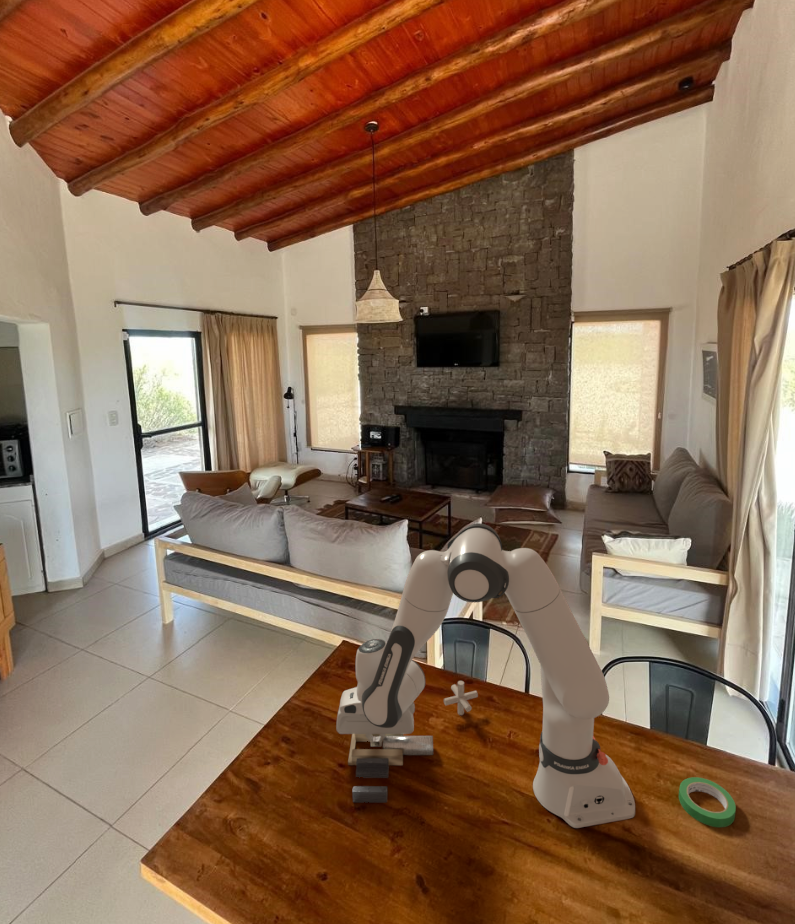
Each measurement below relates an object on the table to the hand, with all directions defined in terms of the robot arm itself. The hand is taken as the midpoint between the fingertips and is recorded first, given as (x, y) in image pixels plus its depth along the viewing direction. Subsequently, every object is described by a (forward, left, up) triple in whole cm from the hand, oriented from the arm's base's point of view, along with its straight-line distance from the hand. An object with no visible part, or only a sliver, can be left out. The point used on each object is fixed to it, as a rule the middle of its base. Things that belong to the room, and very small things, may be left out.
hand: (376, 744), depth 136 cm
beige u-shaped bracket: (-1, 0, -2) cm, 2 cm away
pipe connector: (-24, -14, -2) cm, 28 cm away
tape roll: (-77, +16, -2) cm, 79 cm away
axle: (-8, +1, 0) cm, 8 cm away
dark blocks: (0, +11, -2) cm, 11 cm away
